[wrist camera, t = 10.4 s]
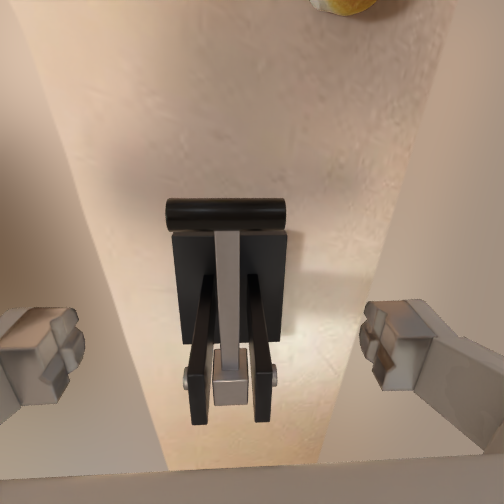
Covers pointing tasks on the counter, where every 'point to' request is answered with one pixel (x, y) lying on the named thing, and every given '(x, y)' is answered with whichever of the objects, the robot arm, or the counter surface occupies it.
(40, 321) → the robot arm
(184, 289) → the bracket
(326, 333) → the counter surface
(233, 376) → the lever
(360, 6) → the bread roll
